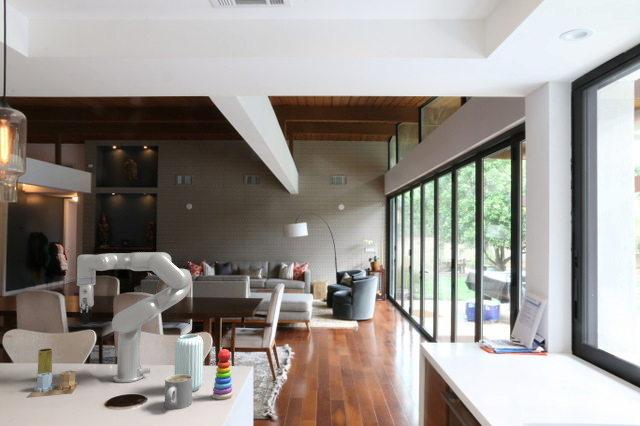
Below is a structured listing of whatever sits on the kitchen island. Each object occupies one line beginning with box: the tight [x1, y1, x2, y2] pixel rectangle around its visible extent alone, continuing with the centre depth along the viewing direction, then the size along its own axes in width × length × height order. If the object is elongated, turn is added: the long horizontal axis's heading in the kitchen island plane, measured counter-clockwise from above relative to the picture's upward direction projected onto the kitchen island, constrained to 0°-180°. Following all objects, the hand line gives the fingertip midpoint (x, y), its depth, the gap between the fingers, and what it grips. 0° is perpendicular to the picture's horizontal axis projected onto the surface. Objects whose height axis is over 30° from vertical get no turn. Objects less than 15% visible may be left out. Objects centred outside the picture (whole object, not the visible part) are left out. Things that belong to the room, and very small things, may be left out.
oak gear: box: [57, 370, 79, 390], centre depth 187 cm, size 7×7×6 cm
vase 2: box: [174, 333, 204, 393], centre depth 189 cm, size 12×12×22 cm
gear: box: [33, 372, 56, 392], centre depth 184 cm, size 7×7×6 cm
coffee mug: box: [164, 374, 193, 410], centre depth 170 cm, size 13×10×10 cm
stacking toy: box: [211, 348, 234, 400], centre depth 180 cm, size 8×8×19 cm
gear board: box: [26, 372, 80, 399], centre depth 184 cm, size 16×14×8 cm
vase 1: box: [37, 348, 53, 375], centre depth 198 cm, size 6×6×14 cm
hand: (85, 319), depth 202 cm, fingers open, 9 cm apart
